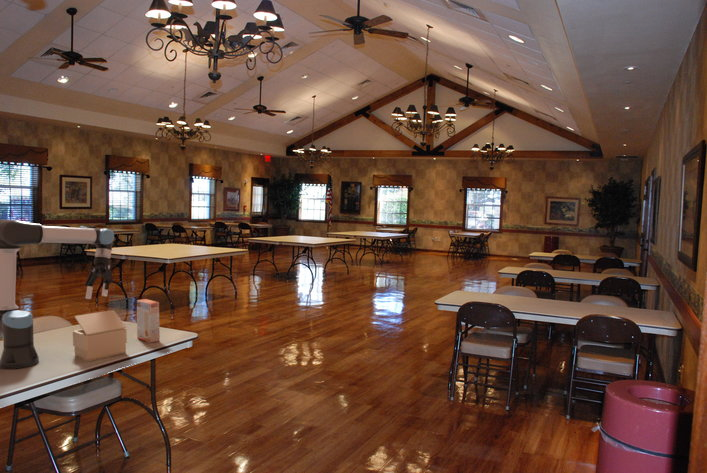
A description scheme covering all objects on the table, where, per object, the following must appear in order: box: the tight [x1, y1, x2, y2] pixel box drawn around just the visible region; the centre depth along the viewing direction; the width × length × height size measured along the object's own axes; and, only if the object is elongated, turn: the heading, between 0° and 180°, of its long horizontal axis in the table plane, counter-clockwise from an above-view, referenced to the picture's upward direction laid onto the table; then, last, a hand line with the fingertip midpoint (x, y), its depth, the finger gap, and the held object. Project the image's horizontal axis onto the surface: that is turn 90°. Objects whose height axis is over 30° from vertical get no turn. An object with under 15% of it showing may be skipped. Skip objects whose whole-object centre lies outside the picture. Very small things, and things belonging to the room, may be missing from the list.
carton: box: [72, 327, 128, 363], centre depth 262 cm, size 15×19×12 cm
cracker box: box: [136, 298, 161, 344], centre depth 289 cm, size 14×6×21 cm, turn 47°
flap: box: [74, 309, 127, 335], centre depth 261 cm, size 14×19×1 cm
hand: (96, 297), depth 283 cm, fingers open, 13 cm apart
